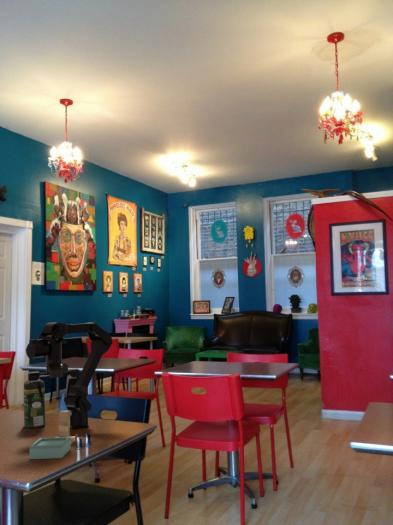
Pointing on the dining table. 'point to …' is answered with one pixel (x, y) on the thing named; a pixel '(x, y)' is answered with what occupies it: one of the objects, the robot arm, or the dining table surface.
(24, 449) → the dining table surface
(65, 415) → the tan boxy piece
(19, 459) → the dining table surface
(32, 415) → the coffee jar
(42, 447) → the teal square tray
